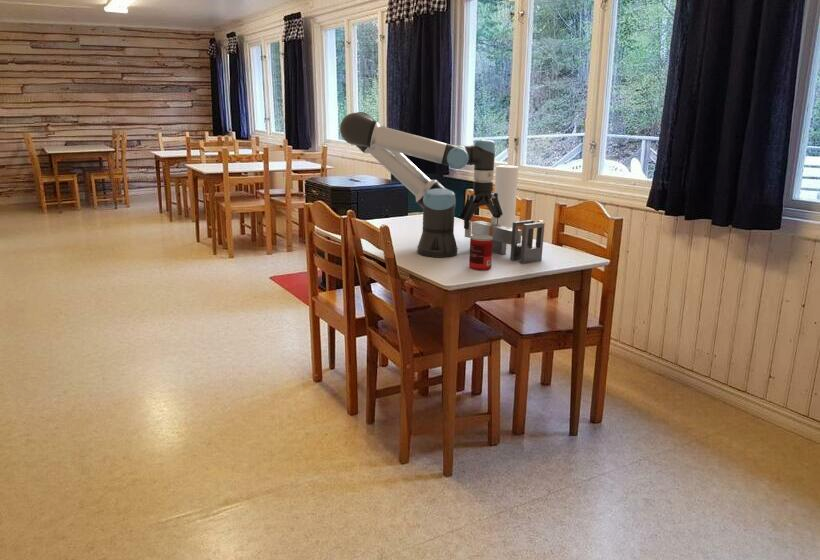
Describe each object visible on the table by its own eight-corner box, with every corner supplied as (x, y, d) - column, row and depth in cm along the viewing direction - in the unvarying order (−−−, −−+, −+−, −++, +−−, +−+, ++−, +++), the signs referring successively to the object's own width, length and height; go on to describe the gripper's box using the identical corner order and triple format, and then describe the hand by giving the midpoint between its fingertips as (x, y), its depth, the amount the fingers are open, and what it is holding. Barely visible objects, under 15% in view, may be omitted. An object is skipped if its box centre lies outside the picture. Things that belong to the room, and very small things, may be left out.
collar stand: (523, 263, 220) (526, 225, 216) (510, 260, 225) (512, 222, 222) (545, 259, 227) (549, 222, 223) (532, 256, 232) (535, 219, 228)
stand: (501, 254, 234) (502, 241, 232) (481, 248, 242) (482, 236, 241) (505, 253, 235) (506, 240, 234) (486, 248, 244) (486, 235, 242)
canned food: (489, 265, 217) (491, 234, 214) (492, 271, 210) (494, 239, 207) (467, 264, 217) (469, 234, 214) (470, 270, 209) (472, 238, 206)
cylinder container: (515, 237, 266) (520, 166, 258) (493, 236, 266) (497, 165, 258) (512, 232, 275) (516, 164, 267) (490, 232, 275) (495, 163, 267)
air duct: (471, 234, 244) (471, 221, 243) (480, 233, 247) (481, 220, 246) (510, 244, 227) (511, 231, 226) (520, 243, 230) (521, 230, 229)
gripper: (465, 184, 228) (462, 240, 234) (513, 180, 242) (510, 233, 248) (452, 181, 234) (450, 237, 239) (500, 178, 248) (497, 230, 254)
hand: (480, 235), depth 244 cm, fingers open, 13 cm apart
